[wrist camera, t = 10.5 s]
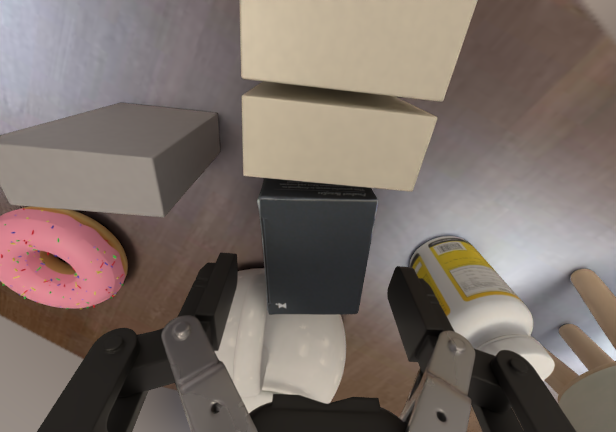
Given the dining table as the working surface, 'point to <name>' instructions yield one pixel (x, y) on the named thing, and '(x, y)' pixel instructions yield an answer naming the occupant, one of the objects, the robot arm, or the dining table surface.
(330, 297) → the box
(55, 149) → the grey books
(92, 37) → the dining table surface
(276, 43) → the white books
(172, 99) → the dining table surface
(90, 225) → the doughnut
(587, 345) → the planter
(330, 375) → the teapot
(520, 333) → the pill bottle
